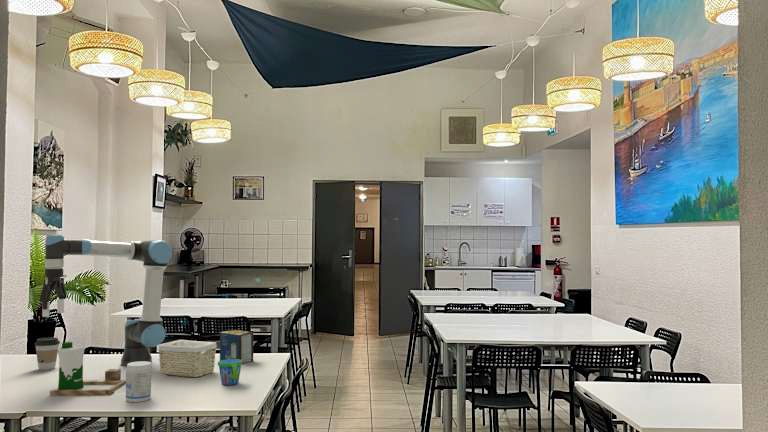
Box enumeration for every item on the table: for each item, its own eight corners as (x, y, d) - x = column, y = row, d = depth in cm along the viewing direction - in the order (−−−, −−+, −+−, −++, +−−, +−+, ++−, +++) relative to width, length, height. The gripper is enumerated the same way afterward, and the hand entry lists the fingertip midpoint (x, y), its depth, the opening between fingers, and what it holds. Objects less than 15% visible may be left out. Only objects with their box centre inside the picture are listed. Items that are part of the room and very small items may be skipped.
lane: (125, 385, 273) (125, 380, 273) (110, 394, 256) (110, 390, 256) (68, 385, 272) (68, 381, 272) (49, 395, 255) (49, 390, 255)
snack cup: (214, 381, 280) (214, 359, 281) (237, 379, 285) (237, 357, 285) (221, 388, 266) (221, 365, 267) (245, 386, 271) (245, 363, 271)
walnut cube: (120, 379, 280) (120, 368, 280) (116, 382, 275) (116, 371, 275) (109, 380, 280) (109, 369, 280) (104, 382, 275) (105, 371, 275)
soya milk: (68, 386, 268) (69, 340, 269) (86, 387, 267) (87, 341, 267) (54, 391, 260) (55, 344, 261) (72, 392, 258) (73, 345, 259)
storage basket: (156, 374, 295) (156, 343, 295) (179, 368, 309) (180, 338, 310) (195, 379, 285) (195, 347, 286) (217, 372, 300) (218, 341, 301)
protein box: (234, 357, 336) (234, 329, 336) (253, 361, 327) (253, 332, 327) (219, 361, 327) (219, 331, 328) (238, 364, 318) (238, 334, 319)
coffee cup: (28, 370, 305) (29, 339, 305) (48, 365, 315) (49, 336, 316) (44, 372, 300) (45, 341, 301) (64, 367, 311) (65, 337, 311)
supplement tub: (121, 400, 248) (121, 363, 248) (143, 395, 255) (143, 360, 256) (133, 404, 242) (133, 366, 242) (155, 399, 249) (156, 363, 249)
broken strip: (124, 381, 280) (125, 379, 280) (120, 384, 275) (120, 382, 275) (78, 382, 279) (78, 380, 279) (73, 384, 274) (73, 382, 274)
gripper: (59, 267, 292) (58, 311, 292) (31, 269, 268) (30, 318, 267) (75, 266, 293) (74, 311, 292) (48, 269, 268) (48, 318, 267)
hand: (53, 314), depth 279 cm, fingers open, 13 cm apart
